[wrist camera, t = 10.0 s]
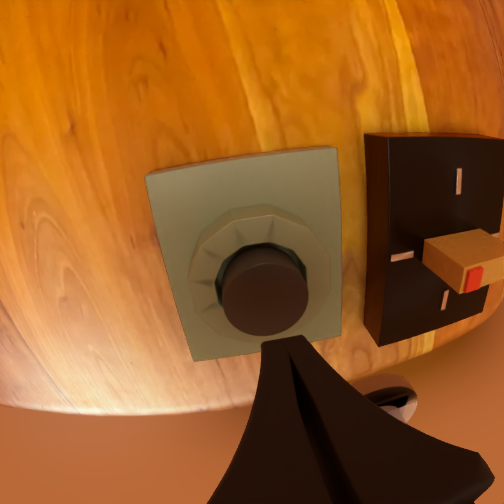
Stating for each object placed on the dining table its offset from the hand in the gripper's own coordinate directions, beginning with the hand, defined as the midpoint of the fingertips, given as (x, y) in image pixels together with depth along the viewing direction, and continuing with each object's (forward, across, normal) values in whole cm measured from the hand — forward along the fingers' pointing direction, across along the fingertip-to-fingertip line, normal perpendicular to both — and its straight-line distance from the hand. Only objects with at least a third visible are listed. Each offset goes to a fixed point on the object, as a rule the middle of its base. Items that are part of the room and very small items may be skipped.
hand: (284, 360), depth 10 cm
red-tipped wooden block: (+5, -11, 0) cm, 12 cm away
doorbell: (+8, 0, 0) cm, 8 cm away
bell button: (+5, 0, 0) cm, 5 cm away
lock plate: (+8, -11, 0) cm, 13 cm away
